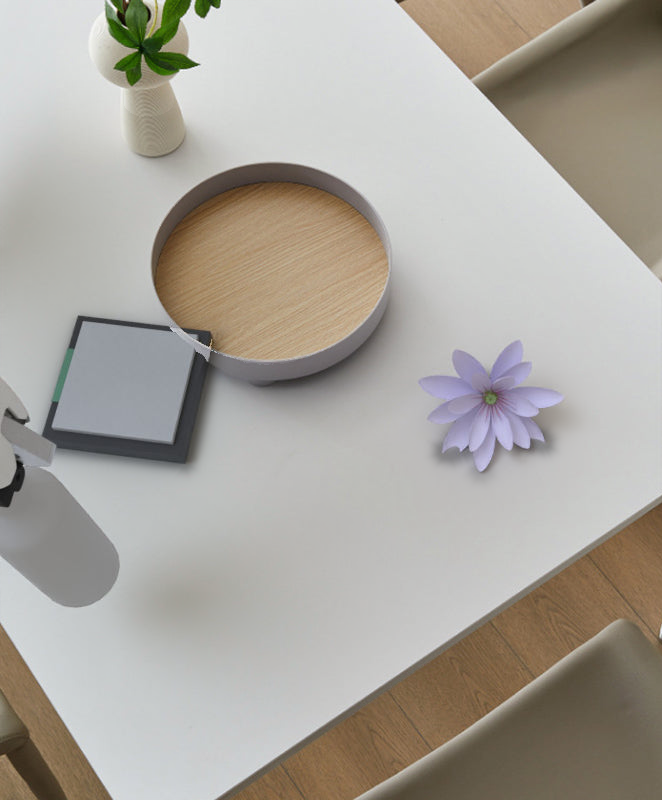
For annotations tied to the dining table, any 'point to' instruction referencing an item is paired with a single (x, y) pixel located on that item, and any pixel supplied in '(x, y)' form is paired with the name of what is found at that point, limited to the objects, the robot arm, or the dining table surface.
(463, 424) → the water lily
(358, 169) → the dining table surface
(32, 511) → the bottle
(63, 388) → the scale
